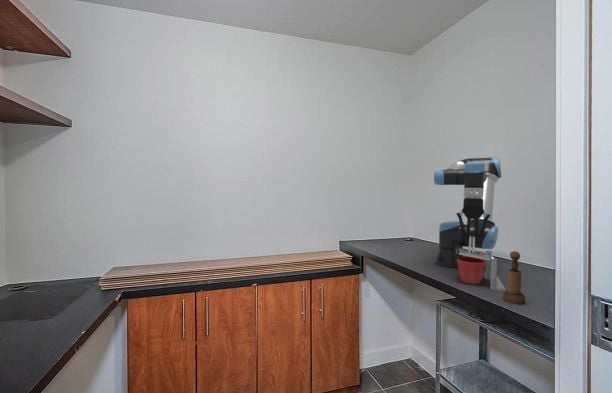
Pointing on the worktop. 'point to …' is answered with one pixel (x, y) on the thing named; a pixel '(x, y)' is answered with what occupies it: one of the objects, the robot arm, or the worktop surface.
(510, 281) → the brown tall piece
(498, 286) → the hinge bracket
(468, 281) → the flower pot
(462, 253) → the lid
